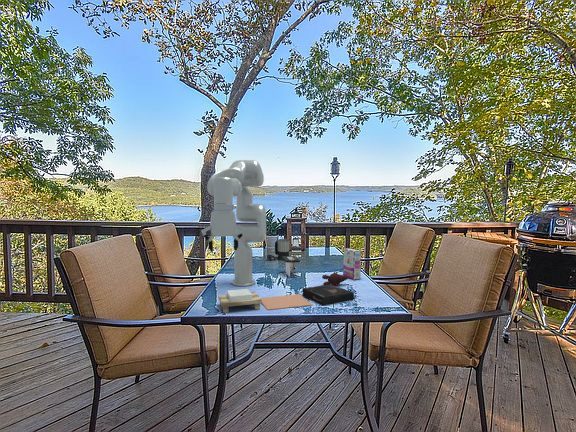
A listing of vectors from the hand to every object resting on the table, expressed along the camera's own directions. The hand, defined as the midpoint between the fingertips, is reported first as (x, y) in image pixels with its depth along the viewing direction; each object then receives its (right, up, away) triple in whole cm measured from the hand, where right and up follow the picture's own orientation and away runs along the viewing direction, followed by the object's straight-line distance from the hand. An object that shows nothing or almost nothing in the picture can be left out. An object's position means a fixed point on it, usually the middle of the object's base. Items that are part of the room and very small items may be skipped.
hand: (223, 250), depth 134 cm
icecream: (+51, -23, +41) cm, 70 cm away
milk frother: (+19, -19, +113) cm, 116 cm away
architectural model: (+28, -22, +65) cm, 74 cm away
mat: (+25, -24, +12) cm, 36 cm away
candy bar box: (+63, -22, +58) cm, 88 cm away
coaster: (+6, -20, +6) cm, 22 cm away
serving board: (+6, -24, +6) cm, 26 cm away
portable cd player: (+45, -24, +19) cm, 54 cm away
